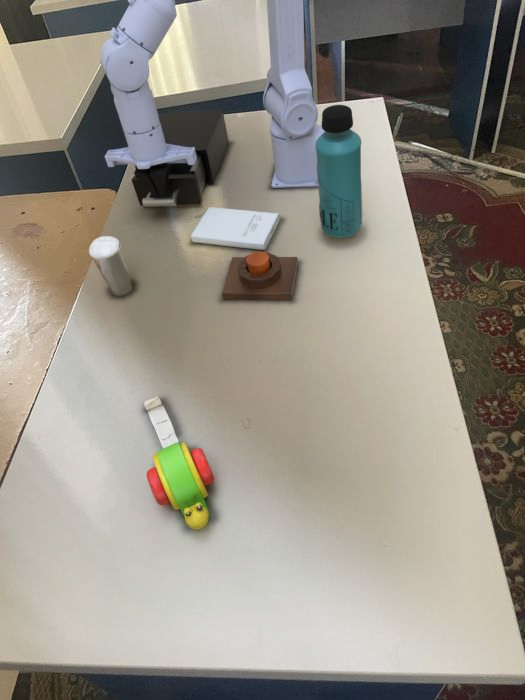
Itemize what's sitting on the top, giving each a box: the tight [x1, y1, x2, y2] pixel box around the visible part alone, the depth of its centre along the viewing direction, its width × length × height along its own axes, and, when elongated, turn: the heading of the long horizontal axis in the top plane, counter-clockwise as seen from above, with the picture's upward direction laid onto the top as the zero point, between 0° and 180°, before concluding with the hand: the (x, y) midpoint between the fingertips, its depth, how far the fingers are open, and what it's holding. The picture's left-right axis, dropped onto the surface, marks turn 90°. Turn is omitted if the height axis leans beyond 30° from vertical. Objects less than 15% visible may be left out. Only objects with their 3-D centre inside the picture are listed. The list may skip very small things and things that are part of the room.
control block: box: [221, 251, 299, 301], centre depth 83 cm, size 10×8×3 cm
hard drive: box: [190, 206, 281, 251], centre depth 92 cm, size 2×8×12 cm
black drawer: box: [131, 154, 208, 208], centre depth 100 cm, size 18×11×5 cm, turn 171°
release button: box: [247, 250, 270, 274], centre depth 81 cm, size 3×3×2 cm
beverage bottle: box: [315, 104, 364, 239], centre depth 81 cm, size 6×7×20 cm
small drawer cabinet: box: [158, 109, 230, 186], centre depth 106 cm, size 14×12×7 cm
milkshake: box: [88, 235, 133, 297], centre depth 83 cm, size 4×5×10 cm
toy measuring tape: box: [143, 395, 215, 530], centre depth 62 cm, size 6×20×7 cm, turn 24°
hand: (163, 201), depth 96 cm, fingers closed, pressing on black drawer
